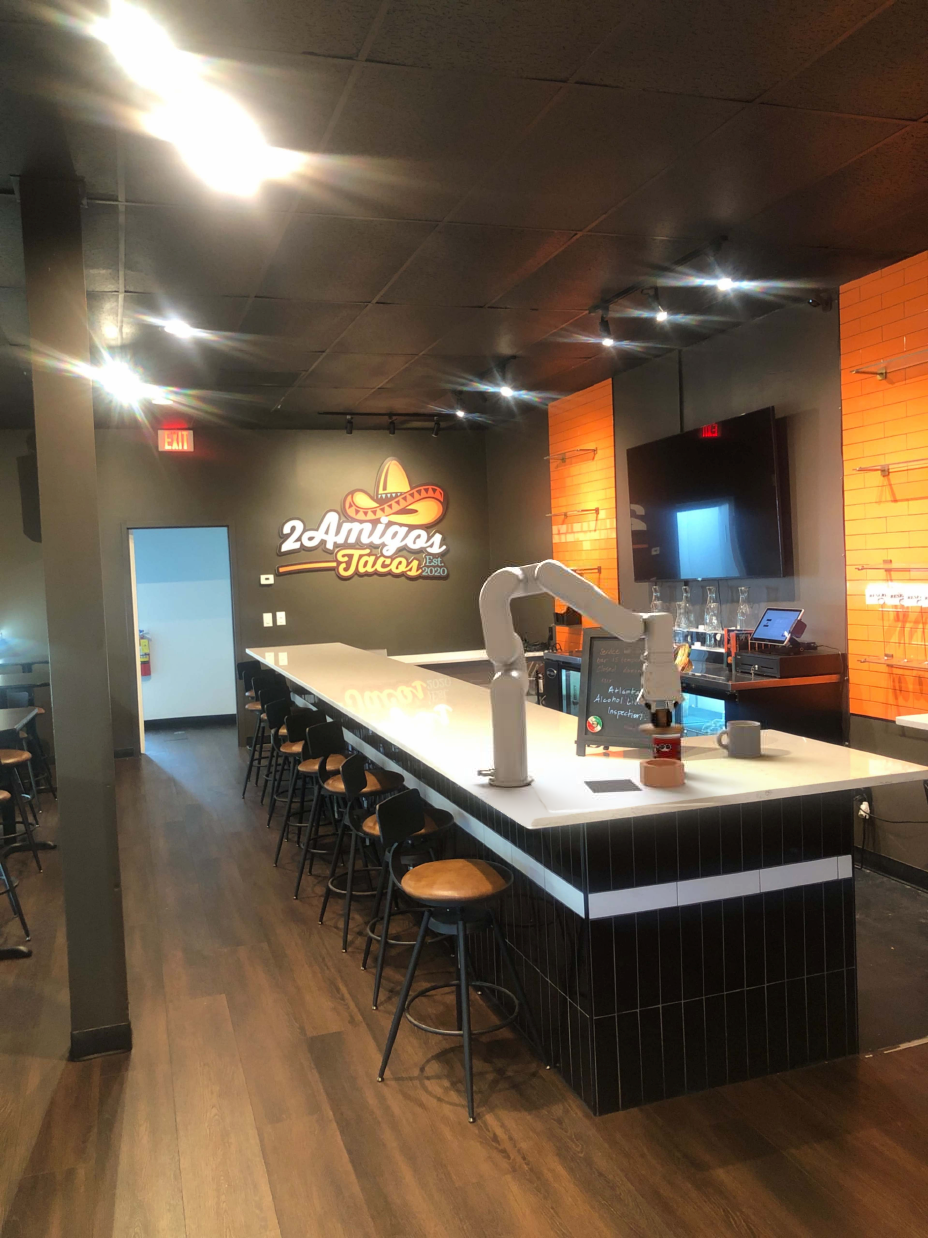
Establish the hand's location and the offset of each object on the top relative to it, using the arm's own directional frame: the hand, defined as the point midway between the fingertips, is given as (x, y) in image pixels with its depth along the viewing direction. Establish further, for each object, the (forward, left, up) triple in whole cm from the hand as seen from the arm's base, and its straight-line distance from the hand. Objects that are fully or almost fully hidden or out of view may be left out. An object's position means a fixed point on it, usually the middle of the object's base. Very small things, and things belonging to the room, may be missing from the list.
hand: (661, 725), depth 244 cm
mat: (-14, -1, -16) cm, 22 cm away
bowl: (0, 0, -16) cm, 16 cm away
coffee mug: (+34, +33, -17) cm, 50 cm away
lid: (0, 0, -2) cm, 2 cm away
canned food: (+6, +15, -17) cm, 23 cm away
